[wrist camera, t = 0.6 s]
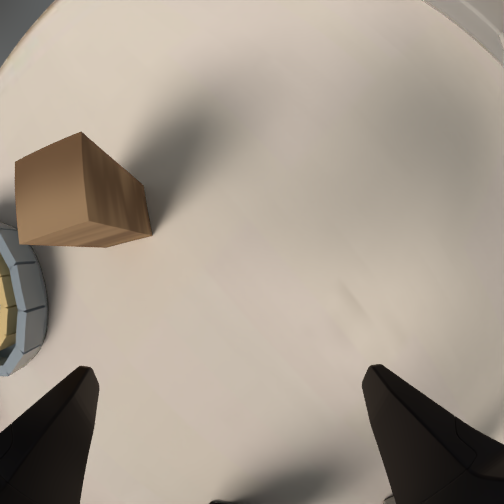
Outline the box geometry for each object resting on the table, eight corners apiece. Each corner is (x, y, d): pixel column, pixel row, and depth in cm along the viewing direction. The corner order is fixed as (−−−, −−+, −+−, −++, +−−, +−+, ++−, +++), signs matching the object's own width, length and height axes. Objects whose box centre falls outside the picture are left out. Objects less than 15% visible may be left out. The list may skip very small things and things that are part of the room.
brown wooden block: (152, 235, 21) (88, 221, 10) (106, 247, 21) (19, 244, 10) (143, 185, 21) (81, 131, 10) (98, 198, 20) (14, 161, 10)
